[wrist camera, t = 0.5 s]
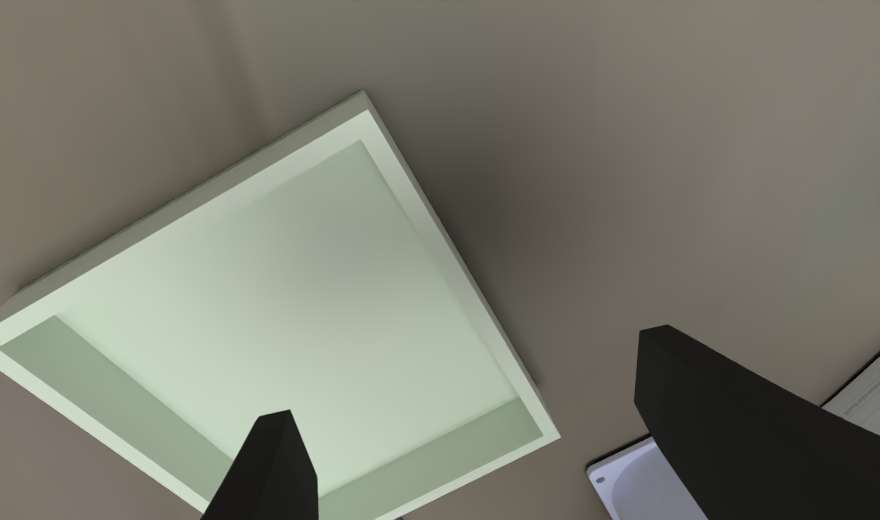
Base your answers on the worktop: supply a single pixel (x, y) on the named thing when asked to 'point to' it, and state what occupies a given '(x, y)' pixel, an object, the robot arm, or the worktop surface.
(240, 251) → the parts tray
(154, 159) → the worktop surface
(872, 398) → the supplement box
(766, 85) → the worktop surface
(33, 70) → the worktop surface
